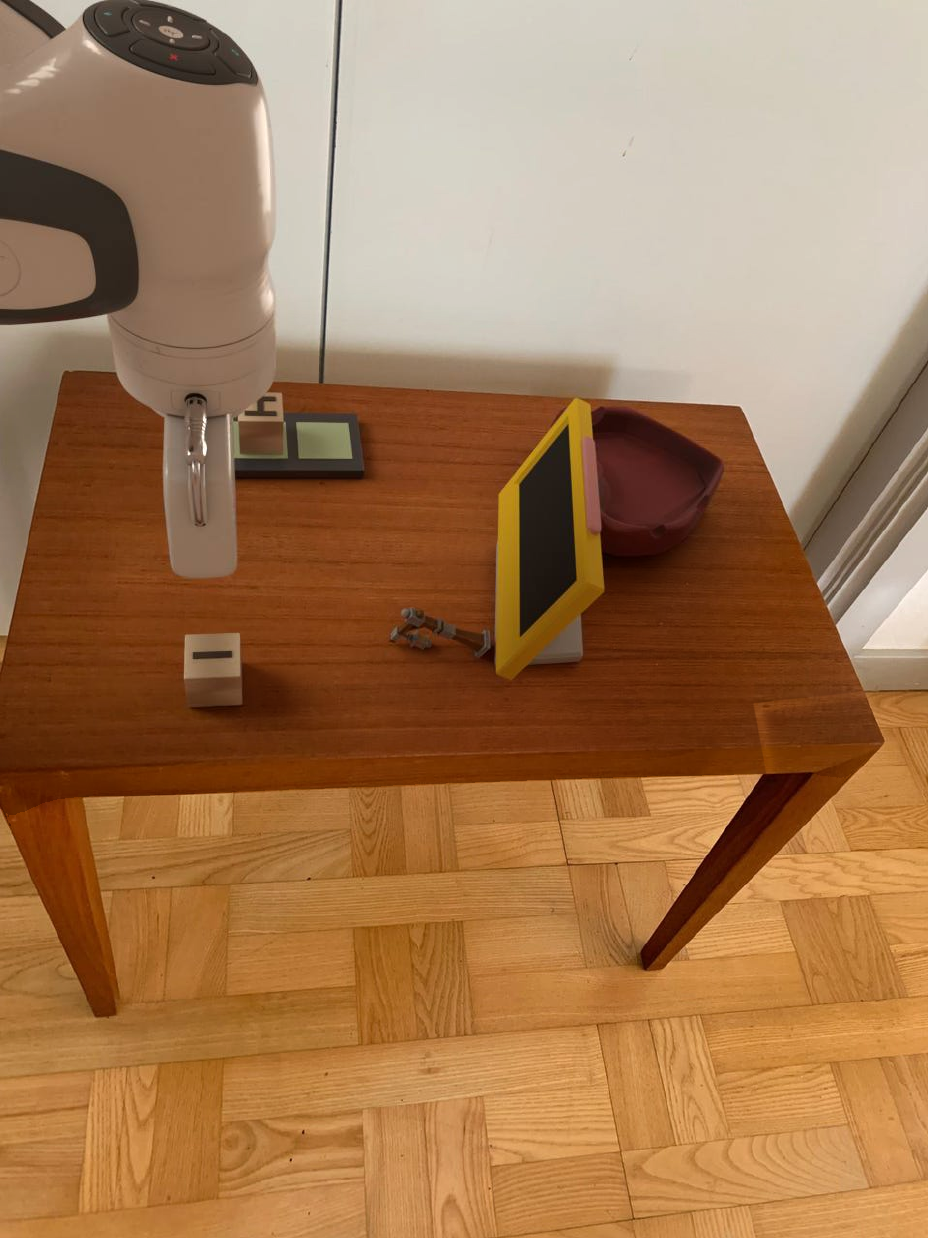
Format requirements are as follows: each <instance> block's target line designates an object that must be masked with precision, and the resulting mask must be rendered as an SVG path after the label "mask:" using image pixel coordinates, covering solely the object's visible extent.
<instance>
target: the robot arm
mask: <svg viewBox="0 0 928 1238" xmlns="http://www.w3.org/2000/svg"><path fill="white" fill-rule="evenodd" d="M273 140H274V139H273V130H272V123H271V116H270V109H269V104H268V99H267V95H266V91H265V88H264V84H263V83H262V80H261V77H260V76H259V73H258V71H257V69H256V68H255V65H254V64H253V62H252V60H251V59H250V57H249V56H248V55H247V54H246V52H245V51H244V50H243V49H242V48H241V47H240V45H238V43H237V42H236V41H235V40H234V39H233V38H232V37H231V36H230V35H228V34H227V33H225V32H223V31H222V30H221V29H219V28H218V27H216V26H215V25H213V24H211V23H209V22H208V20H206V19H204V18H202V17H201V16H198V15H197V14H195V13H192V12H189V11H187V10H185V9H182V8H180V7H176V6H173V5H171V4H168V3H163V2H159V1H155V0H101V1H97V2H95V3H93V4H91V5H89V6H88V7H86V8H85V9H84V10H83V11H82V12H81V14H80V15H79V16H78V18H77V19H76V20H75V21H74V22H73V23H72V24H71V25H70V26H69V27H67V28H66V27H65V26H64V25H62V23H61V22H59V20H57V19H56V18H55V17H53V16H52V15H51V14H50V13H49V12H47V11H46V10H45V9H43V8H42V7H40V6H39V5H38V4H36V3H35V2H33V1H32V0H0V326H16V325H18V326H20V325H33V324H45V323H56V322H65V321H74V320H82V319H88V318H95V317H100V316H101V317H102V316H105V315H106V319H107V325H108V331H109V339H110V341H111V348H112V354H113V361H114V368H115V373H116V376H117V378H118V381H119V383H120V384H121V386H122V387H123V389H124V390H125V391H126V392H127V393H128V394H129V395H130V396H131V397H132V398H134V399H135V400H137V401H138V402H140V403H141V404H143V405H144V406H146V407H149V408H150V409H151V410H152V411H153V412H155V414H158V415H159V416H160V417H162V418H164V420H163V421H164V422H163V451H162V490H163V491H162V492H163V504H164V505H163V506H164V513H165V514H164V516H165V524H166V525H165V526H166V535H167V542H168V543H167V544H168V553H169V561H170V567H171V570H172V571H173V573H174V574H175V575H176V576H178V577H181V578H187V579H215V578H224V577H229V576H231V575H233V574H234V573H235V572H236V570H237V567H238V533H237V531H238V530H237V503H236V502H237V500H236V497H237V496H236V478H235V463H234V431H233V418H235V417H237V416H239V415H240V414H241V413H243V412H244V411H245V410H246V409H247V408H248V407H249V406H250V405H252V404H253V403H255V402H256V401H258V400H259V399H260V398H261V397H262V396H263V395H264V394H265V393H266V392H269V390H270V388H271V387H272V385H273V383H274V381H275V377H276V373H277V372H276V371H277V295H276V287H275V285H274V282H273V278H272V274H271V272H270V267H269V257H270V252H271V249H272V246H273V244H274V240H275V237H276V232H277V231H276V229H277V191H276V190H277V189H276V187H277V185H276V167H275V165H276V164H275V151H274V141H273Z"/></svg>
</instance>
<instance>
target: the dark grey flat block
mask: <svg viewBox="0 0 928 1238" xmlns="http://www.w3.org/2000/svg"><path fill="white" fill-rule="evenodd" d="M283 419H284V454H240V452H239V432H238V416H237V417H235V418H233V431H234V463H235V479H364V477H365V463H364V457H363V448H362V442H361V441H362V440H361V433H360V426H359V418H358V413H334V412H333V413H331V412H330V413H329V412H328V413H327V412H283Z"/></svg>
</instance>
